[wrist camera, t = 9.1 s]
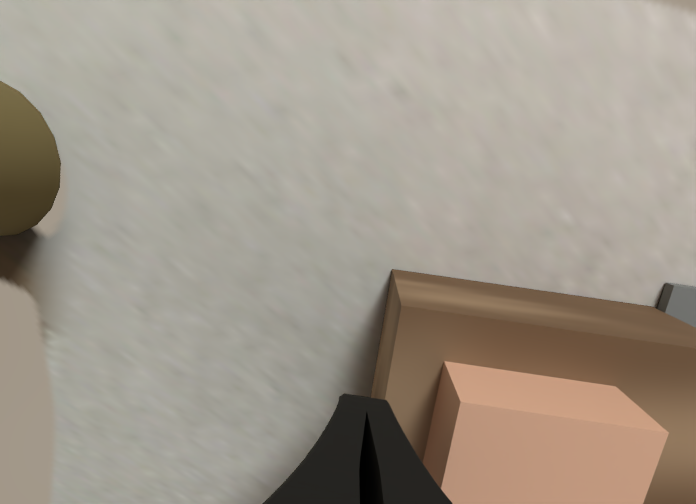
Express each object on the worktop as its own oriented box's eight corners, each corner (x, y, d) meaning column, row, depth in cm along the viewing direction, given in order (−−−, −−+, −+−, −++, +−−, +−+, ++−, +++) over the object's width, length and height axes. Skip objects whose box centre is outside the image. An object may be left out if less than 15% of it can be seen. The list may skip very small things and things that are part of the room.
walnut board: (564, 574, 17) (621, 690, 14) (346, 540, 18) (340, 646, 14) (652, 306, 15) (756, 356, 11) (392, 269, 15) (401, 305, 11)
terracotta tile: (578, 500, 12) (620, 565, 10) (420, 476, 12) (430, 536, 10) (615, 386, 11) (669, 432, 9) (444, 360, 11) (460, 401, 9)
